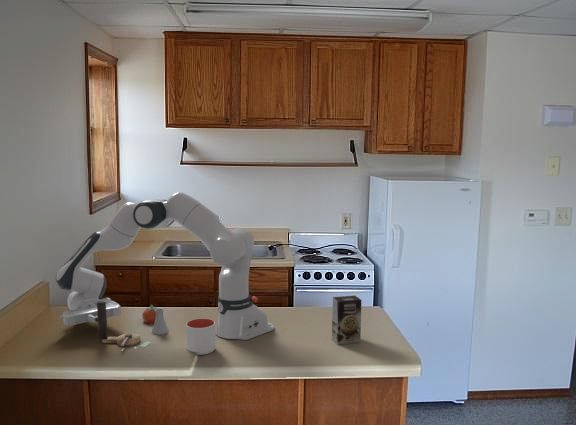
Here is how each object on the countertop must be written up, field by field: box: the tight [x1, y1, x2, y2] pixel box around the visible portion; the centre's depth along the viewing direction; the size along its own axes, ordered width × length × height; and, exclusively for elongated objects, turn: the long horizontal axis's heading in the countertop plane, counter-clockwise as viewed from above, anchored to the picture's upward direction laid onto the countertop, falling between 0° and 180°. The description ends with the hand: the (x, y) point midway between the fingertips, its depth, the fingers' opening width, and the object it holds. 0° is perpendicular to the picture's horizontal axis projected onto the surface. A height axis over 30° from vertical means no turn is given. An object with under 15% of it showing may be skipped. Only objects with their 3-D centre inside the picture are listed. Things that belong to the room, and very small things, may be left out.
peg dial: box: [97, 302, 141, 347], centre depth 186 cm, size 14×12×14 cm
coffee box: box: [331, 294, 362, 346], centre depth 193 cm, size 9×6×16 cm
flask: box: [151, 307, 169, 335], centre depth 198 cm, size 7×7×10 cm
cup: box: [185, 317, 217, 356], centre depth 184 cm, size 10×10×10 cm
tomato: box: [141, 304, 158, 324], centre depth 210 cm, size 7×7×8 cm
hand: (98, 319), depth 190 cm, fingers closed
